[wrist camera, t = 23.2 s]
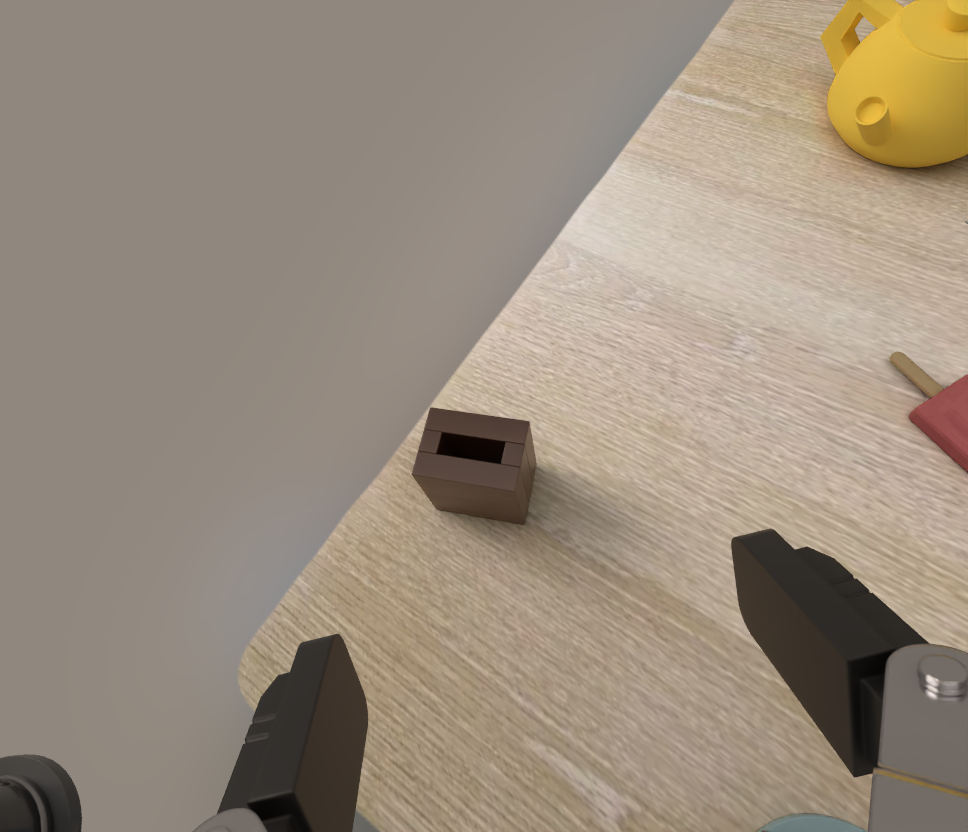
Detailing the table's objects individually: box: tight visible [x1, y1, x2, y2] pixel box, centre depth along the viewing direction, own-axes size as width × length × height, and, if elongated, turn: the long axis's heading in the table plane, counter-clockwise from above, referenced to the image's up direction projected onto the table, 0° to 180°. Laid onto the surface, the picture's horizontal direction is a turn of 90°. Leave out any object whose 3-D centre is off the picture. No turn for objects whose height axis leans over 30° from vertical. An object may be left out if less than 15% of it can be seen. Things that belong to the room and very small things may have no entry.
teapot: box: [820, 0, 968, 168], centre depth 52 cm, size 20×18×11 cm
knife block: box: [412, 408, 537, 525], centre depth 45 cm, size 5×7×8 cm
